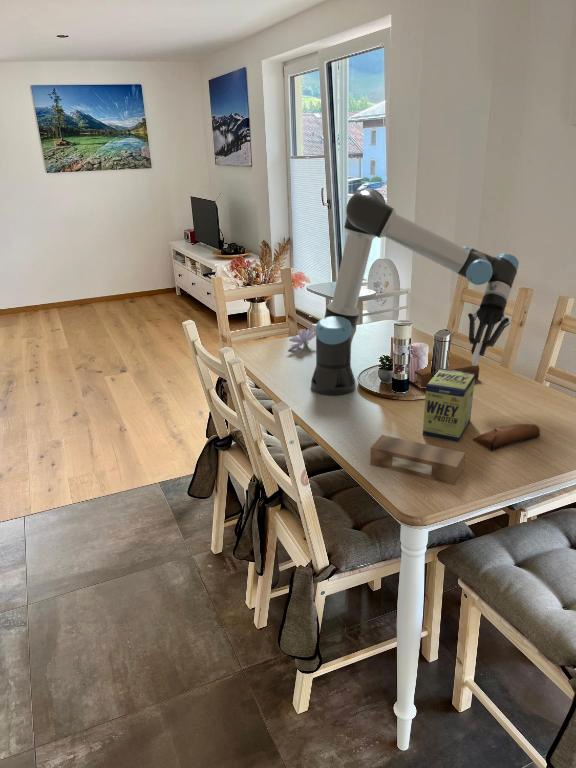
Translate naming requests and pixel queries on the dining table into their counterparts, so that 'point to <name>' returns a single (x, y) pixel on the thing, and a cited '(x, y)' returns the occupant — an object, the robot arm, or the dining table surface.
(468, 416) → the protein box
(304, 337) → the water lily
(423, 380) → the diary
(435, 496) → the dining table surface
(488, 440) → the sunglasses case
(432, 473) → the display riser
